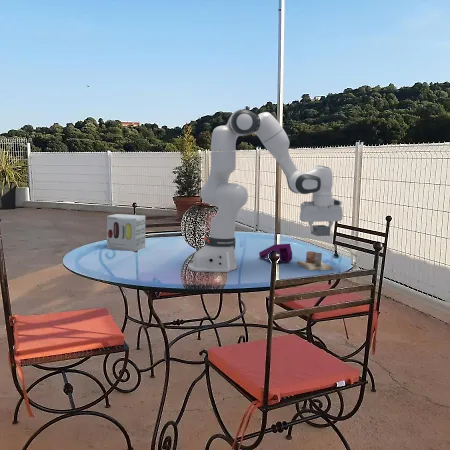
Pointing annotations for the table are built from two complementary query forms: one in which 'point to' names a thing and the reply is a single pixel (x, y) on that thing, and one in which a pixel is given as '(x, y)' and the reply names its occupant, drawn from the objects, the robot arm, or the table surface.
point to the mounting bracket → (281, 249)
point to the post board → (312, 266)
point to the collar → (321, 230)
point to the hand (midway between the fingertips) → (320, 231)
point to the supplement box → (126, 232)
